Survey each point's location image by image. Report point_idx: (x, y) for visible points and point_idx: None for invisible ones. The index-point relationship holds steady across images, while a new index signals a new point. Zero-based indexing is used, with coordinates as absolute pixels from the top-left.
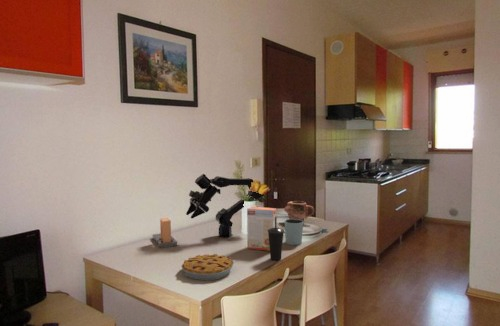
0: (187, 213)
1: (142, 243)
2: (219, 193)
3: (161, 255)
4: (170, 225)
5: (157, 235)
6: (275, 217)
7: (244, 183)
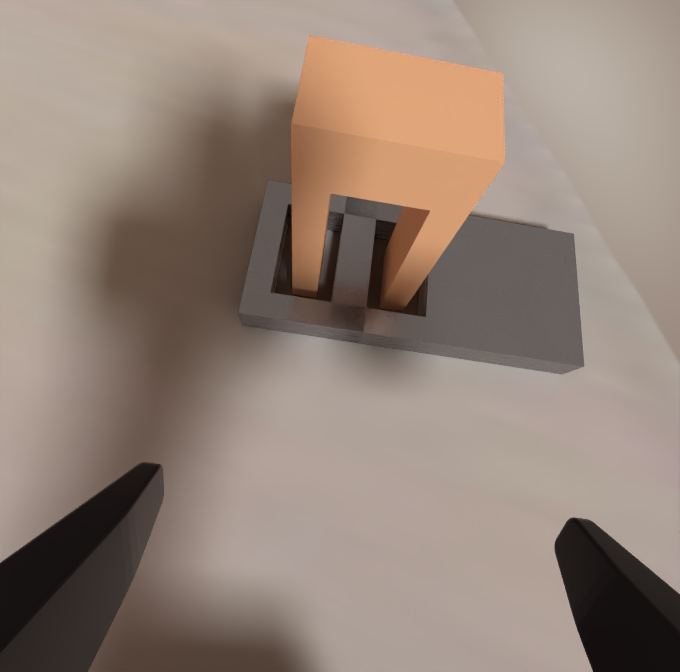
0: (580, 558)
1: None
2: None
3: (93, 150)
4: (293, 175)
5: (532, 255)
6: None
7: None
